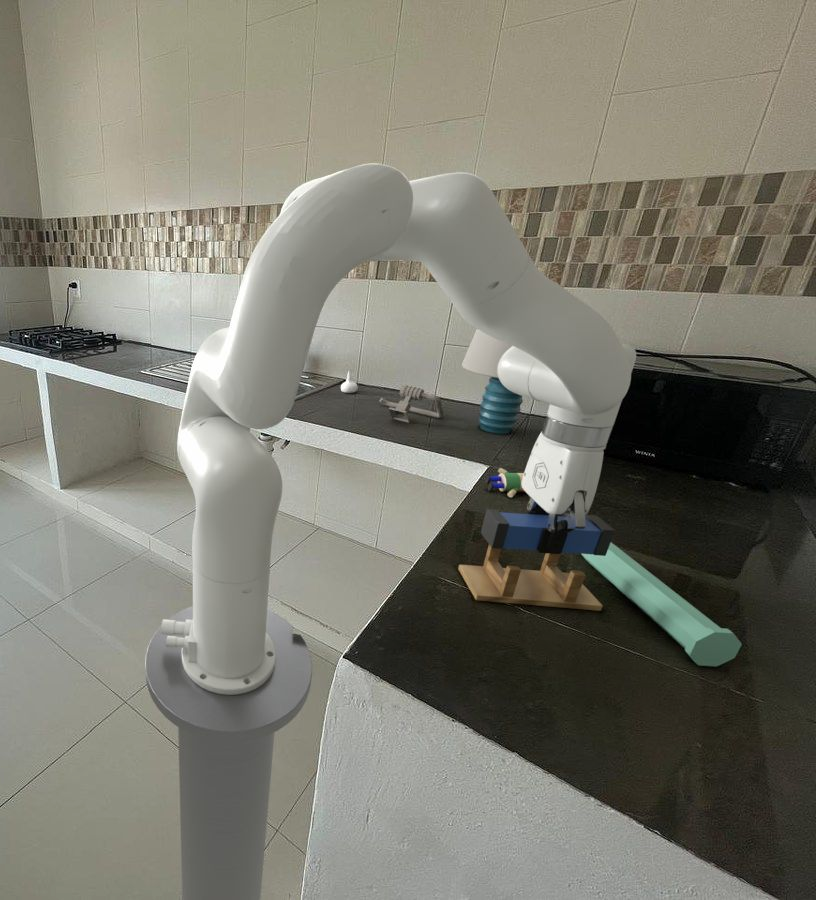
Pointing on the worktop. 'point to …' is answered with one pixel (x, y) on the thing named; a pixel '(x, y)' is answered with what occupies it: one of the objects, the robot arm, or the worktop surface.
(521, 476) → the toy figurine
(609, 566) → the mint octagonal rod
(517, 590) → the holder
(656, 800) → the worktop surface
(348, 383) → the garlic bulb
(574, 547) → the handle
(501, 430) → the lamp
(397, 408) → the toilet paper hanger
